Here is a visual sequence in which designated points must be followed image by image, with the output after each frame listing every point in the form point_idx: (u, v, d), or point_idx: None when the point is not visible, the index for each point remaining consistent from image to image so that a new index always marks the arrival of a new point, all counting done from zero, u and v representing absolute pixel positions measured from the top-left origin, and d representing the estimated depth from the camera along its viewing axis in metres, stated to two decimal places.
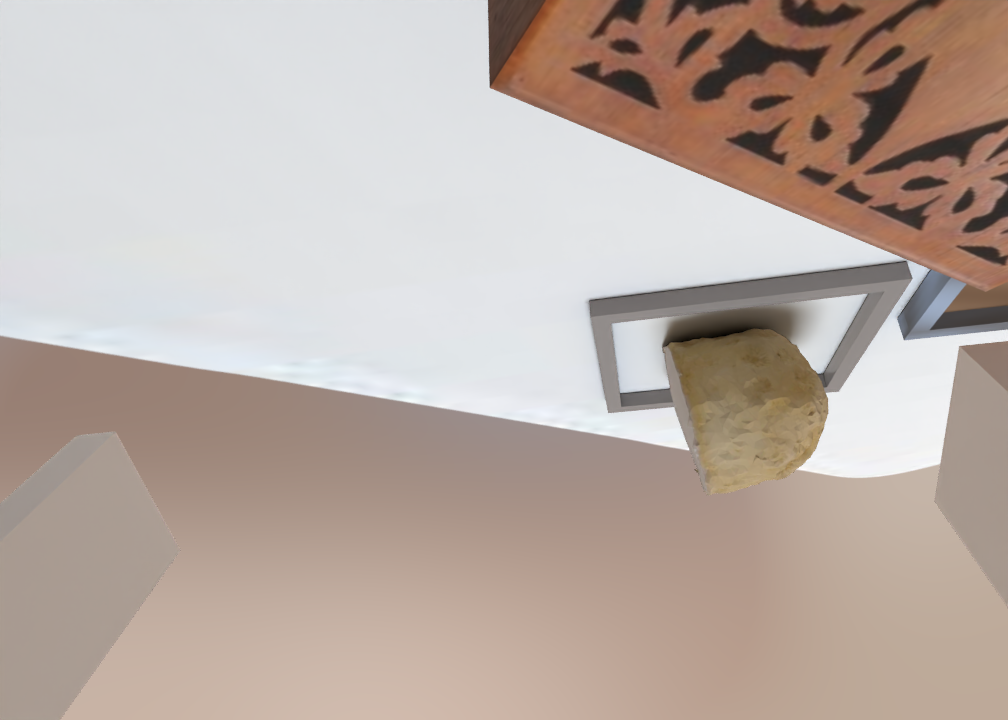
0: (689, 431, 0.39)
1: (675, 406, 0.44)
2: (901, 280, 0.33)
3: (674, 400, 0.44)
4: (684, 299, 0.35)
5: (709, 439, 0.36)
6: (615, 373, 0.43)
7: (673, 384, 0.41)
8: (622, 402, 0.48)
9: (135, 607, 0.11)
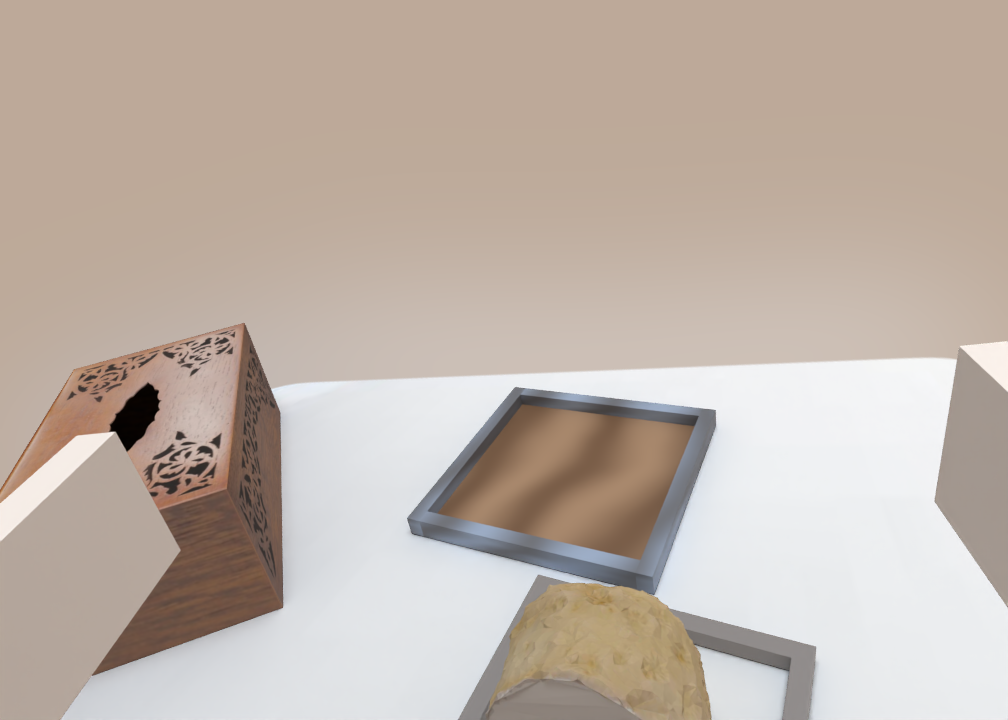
0: None
1: None
2: (535, 581, 0.39)
3: None
4: None
5: (503, 681, 0.27)
6: None
7: None
8: None
9: (134, 607, 0.11)
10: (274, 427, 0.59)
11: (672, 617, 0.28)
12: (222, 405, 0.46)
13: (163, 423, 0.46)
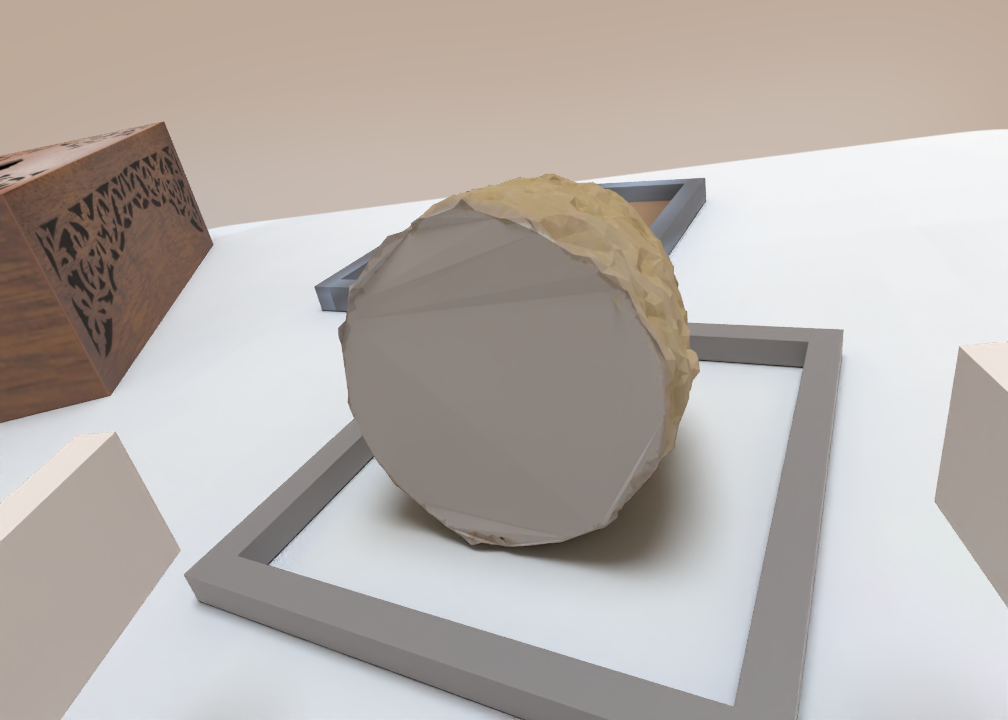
0: (459, 356, 0.16)
1: (621, 489, 0.15)
2: None
3: (599, 493, 0.16)
4: None
5: None
6: (447, 623, 0.15)
7: (492, 478, 0.17)
8: (735, 712, 0.12)
9: (135, 607, 0.11)
10: (190, 244, 0.49)
11: (630, 206, 0.18)
12: (75, 156, 0.36)
13: None
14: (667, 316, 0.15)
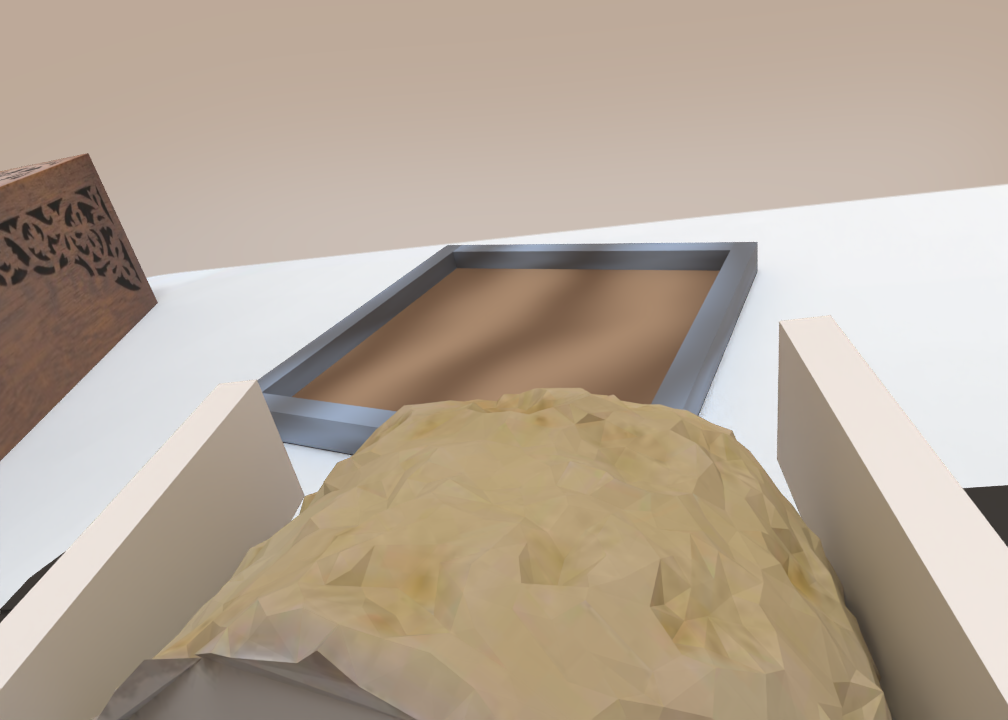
0: None
1: None
2: None
3: None
4: None
5: None
6: None
7: None
8: None
9: None
10: (108, 313, 0.38)
11: (751, 460, 0.08)
12: None
13: None
14: None
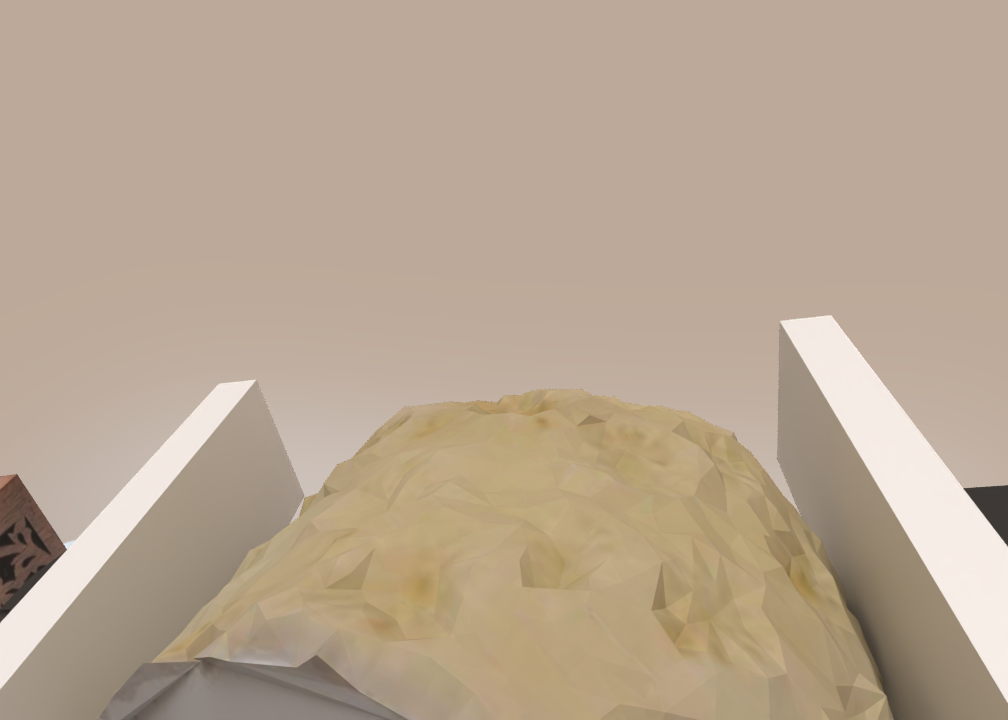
0: None
1: None
2: None
3: None
4: None
5: None
6: None
7: None
8: None
9: None
10: None
11: (753, 462, 0.08)
12: None
13: None
14: None
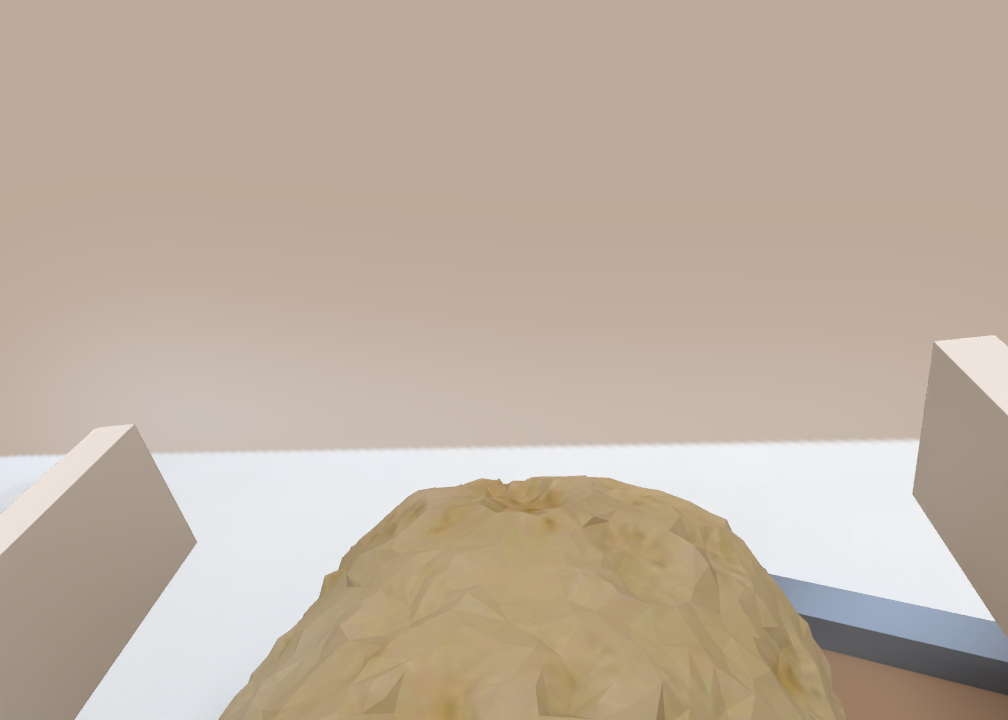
0: None
1: None
2: None
3: None
4: None
5: None
6: None
7: None
8: None
9: (153, 598, 0.11)
10: None
11: (745, 551, 0.09)
12: None
13: None
14: None
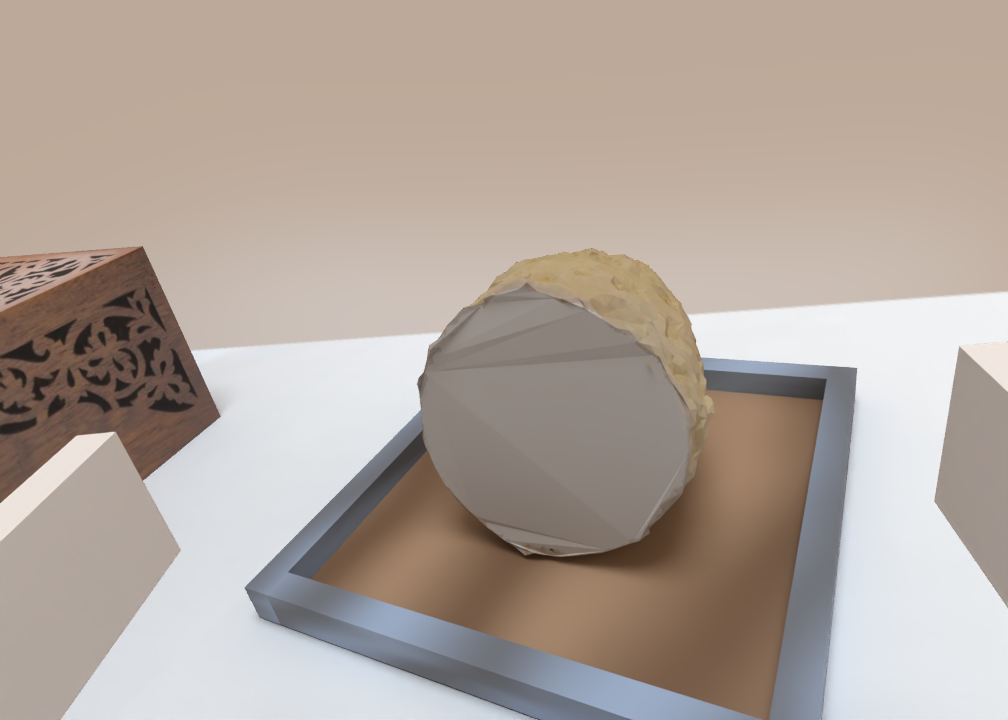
0: (519, 402, 0.20)
1: (653, 510, 0.19)
2: None
3: (634, 514, 0.20)
4: None
5: None
6: None
7: (544, 500, 0.21)
8: None
9: (135, 607, 0.11)
10: None
11: (655, 273, 0.22)
12: None
13: None
14: (689, 373, 0.19)
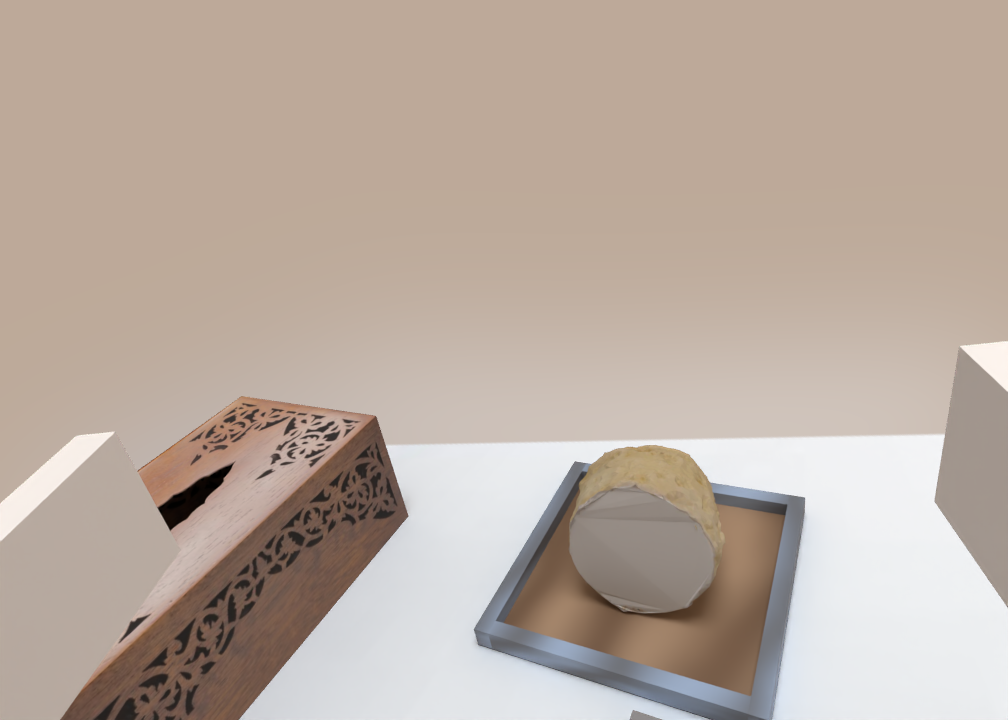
0: (626, 537, 0.39)
1: (694, 593, 0.38)
2: (631, 718, 0.35)
3: (684, 594, 0.39)
4: None
5: (581, 501, 0.40)
6: None
7: (636, 585, 0.40)
8: None
9: (135, 607, 0.11)
10: (360, 549, 0.49)
11: (693, 461, 0.41)
12: (207, 560, 0.38)
13: None
14: (713, 527, 0.38)
